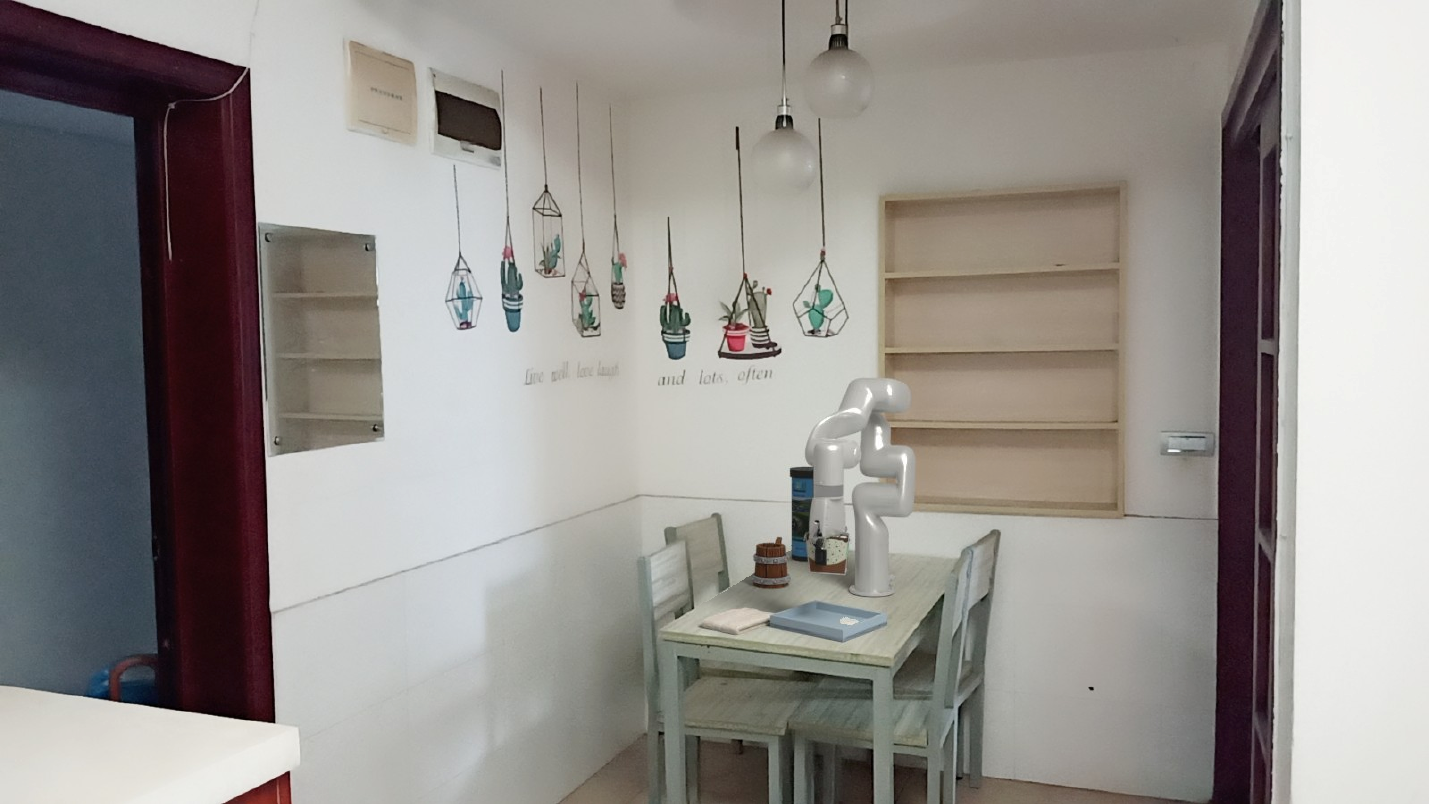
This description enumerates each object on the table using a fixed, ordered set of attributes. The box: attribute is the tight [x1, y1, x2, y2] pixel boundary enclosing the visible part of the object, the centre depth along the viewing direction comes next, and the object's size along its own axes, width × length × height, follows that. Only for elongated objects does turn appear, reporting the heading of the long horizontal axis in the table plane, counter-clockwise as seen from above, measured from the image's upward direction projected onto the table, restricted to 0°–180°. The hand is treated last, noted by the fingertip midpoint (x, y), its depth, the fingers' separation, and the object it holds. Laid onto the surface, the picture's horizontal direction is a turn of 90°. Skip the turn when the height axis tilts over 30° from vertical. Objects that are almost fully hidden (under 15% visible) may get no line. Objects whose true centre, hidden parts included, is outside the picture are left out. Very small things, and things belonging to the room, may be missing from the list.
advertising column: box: [789, 466, 814, 563], centre depth 351 cm, size 11×11×30 cm
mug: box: [751, 536, 792, 590], centre depth 315 cm, size 12×14×15 cm
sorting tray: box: [769, 599, 888, 643], centre depth 268 cm, size 20×22×3 cm
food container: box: [803, 532, 853, 576], centre depth 267 cm, size 12×6×10 cm, turn 68°
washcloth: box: [701, 607, 776, 636], centre depth 270 cm, size 12×18×3 cm, turn 140°
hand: (828, 562), depth 267 cm, fingers closed on food container, 6 cm apart
